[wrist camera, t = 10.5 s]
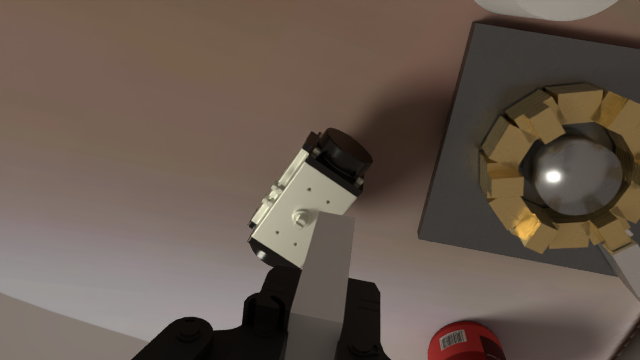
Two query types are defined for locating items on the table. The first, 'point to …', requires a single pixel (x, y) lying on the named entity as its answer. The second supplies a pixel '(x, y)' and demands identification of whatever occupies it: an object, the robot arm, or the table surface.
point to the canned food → (465, 343)
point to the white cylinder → (547, 8)
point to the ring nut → (545, 124)
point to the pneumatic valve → (308, 196)
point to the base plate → (541, 159)
